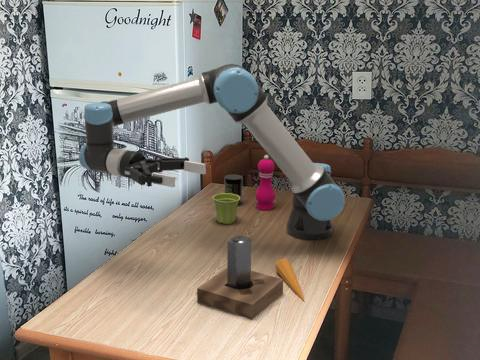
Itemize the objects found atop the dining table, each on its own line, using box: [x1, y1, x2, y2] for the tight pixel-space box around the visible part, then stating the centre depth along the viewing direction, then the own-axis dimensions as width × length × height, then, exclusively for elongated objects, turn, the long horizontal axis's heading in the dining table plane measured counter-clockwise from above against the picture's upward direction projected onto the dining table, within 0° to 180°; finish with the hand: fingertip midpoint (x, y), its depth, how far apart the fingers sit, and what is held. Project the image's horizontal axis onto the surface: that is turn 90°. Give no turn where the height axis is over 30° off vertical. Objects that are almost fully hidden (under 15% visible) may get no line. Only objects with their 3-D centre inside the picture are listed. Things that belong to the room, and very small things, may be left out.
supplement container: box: [223, 173, 244, 207], centre depth 222 cm, size 7×7×10 cm
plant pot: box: [212, 192, 240, 225], centre depth 205 cm, size 9×9×9 cm
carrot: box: [275, 258, 305, 301], centre depth 160 cm, size 20×4×4 cm, turn 14°
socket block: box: [196, 267, 284, 321], centre depth 153 cm, size 16×16×4 cm
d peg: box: [226, 234, 252, 290], centre depth 151 cm, size 5×5×16 cm
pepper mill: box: [255, 154, 276, 211], centre depth 217 cm, size 7×7×20 cm
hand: (190, 175), depth 154 cm, fingers open, 13 cm apart
